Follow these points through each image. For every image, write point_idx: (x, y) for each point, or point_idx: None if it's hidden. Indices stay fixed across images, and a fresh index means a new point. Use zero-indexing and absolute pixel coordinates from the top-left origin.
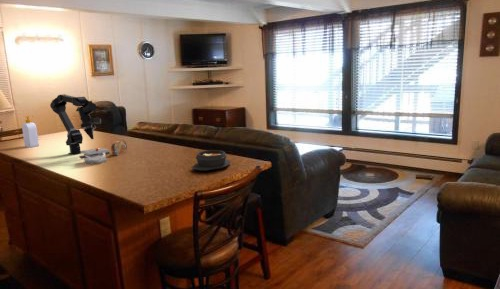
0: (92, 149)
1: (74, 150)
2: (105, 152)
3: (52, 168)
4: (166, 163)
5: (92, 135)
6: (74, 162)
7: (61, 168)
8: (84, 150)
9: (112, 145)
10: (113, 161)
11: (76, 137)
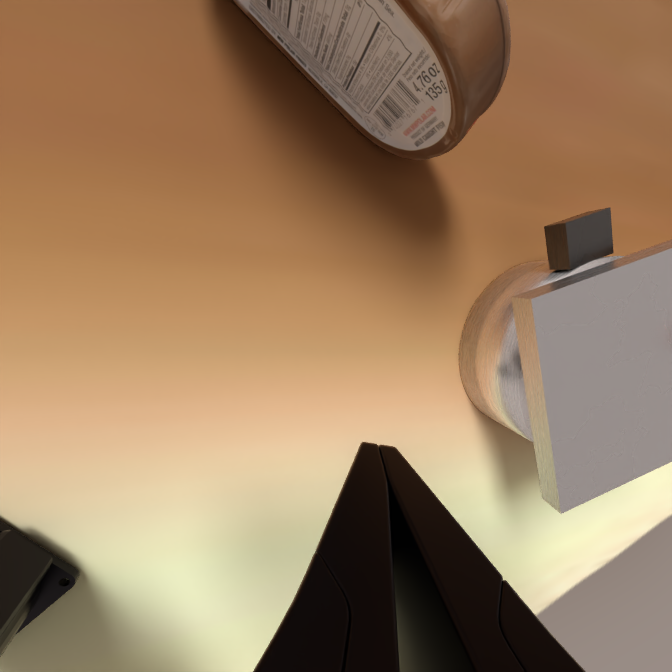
0: (569, 395)
1: (13, 625)
2: (605, 253)
3: (538, 595)
4: None
5: (451, 524)
6: (457, 499)
7: (570, 543)
8: (556, 477)
9: (478, 92)
10: (602, 208)
11: None
